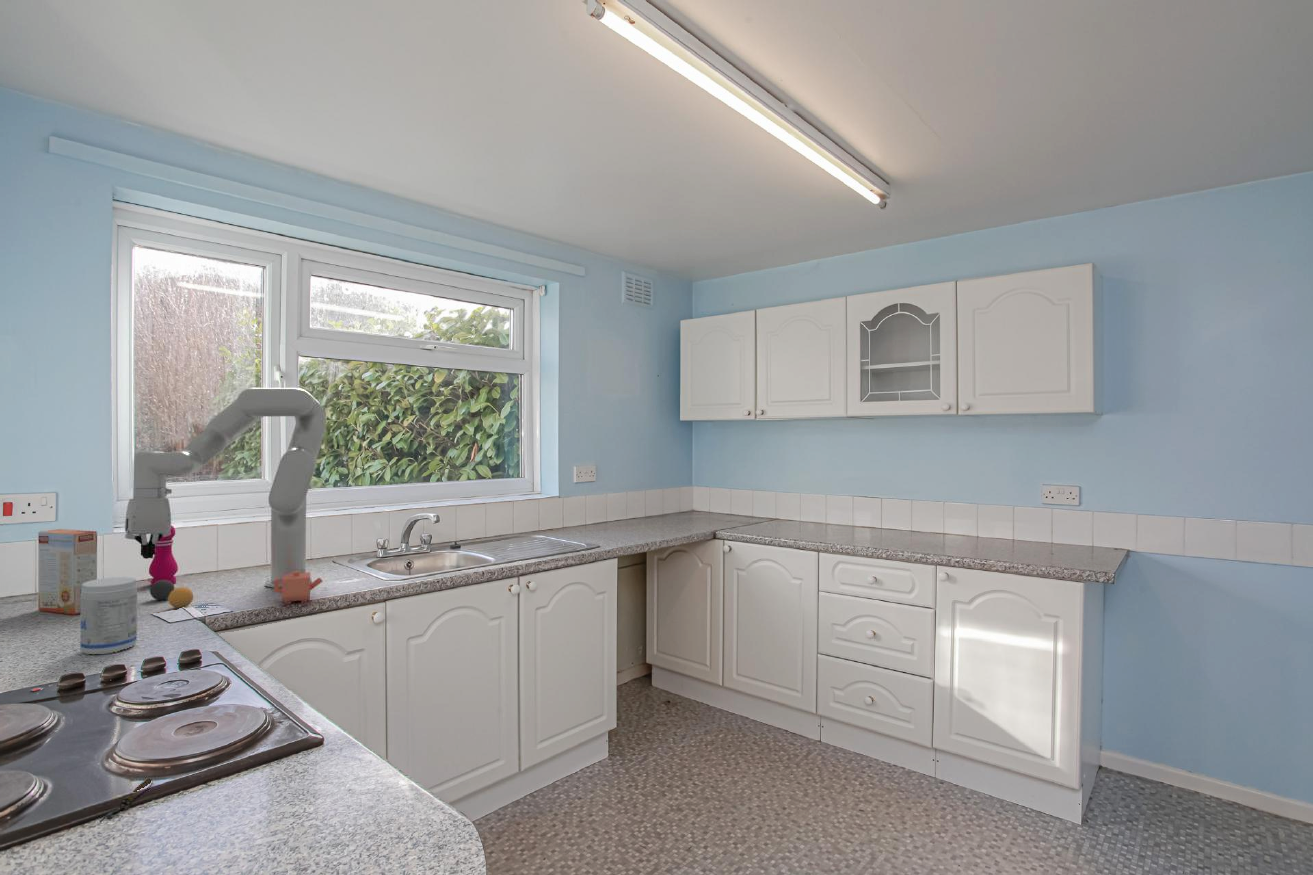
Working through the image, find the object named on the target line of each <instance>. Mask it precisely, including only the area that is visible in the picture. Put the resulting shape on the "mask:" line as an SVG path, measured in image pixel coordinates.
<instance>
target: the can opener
mask: <svg viewBox="0 0 1313 875" xmlns="http://www.w3.org/2000/svg"><path fill="white" fill-rule="evenodd" d="M151 781H152V782H153V780H152V779H150V778H147V779H146V780H144V781H142V782H141V783H140V784H139V785H138V786H137V787H135V788H134V790H133V791H132V792H137V790H140V789H141V788H144V787H145V786H147V785H148V784H150V783H151ZM132 799H133V795H130V794H128V797H127V796H126V797H125V798H124V799H123V800H122V801H121V803H120V805H119V806H117V807H116V808H113V809H110V810H109V811H108V812H107V814H105V815H104V817H103V818H102V819H100V821H99V823H101V822H103V820H105V819H106V820H112V819H113V818H112V815H118V814H119V812H120V811H122V812H123V811H126V810H128V809H129V808H130V805H131V804H132V803H133V802H132ZM131 802H132V803H131Z"/></svg>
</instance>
